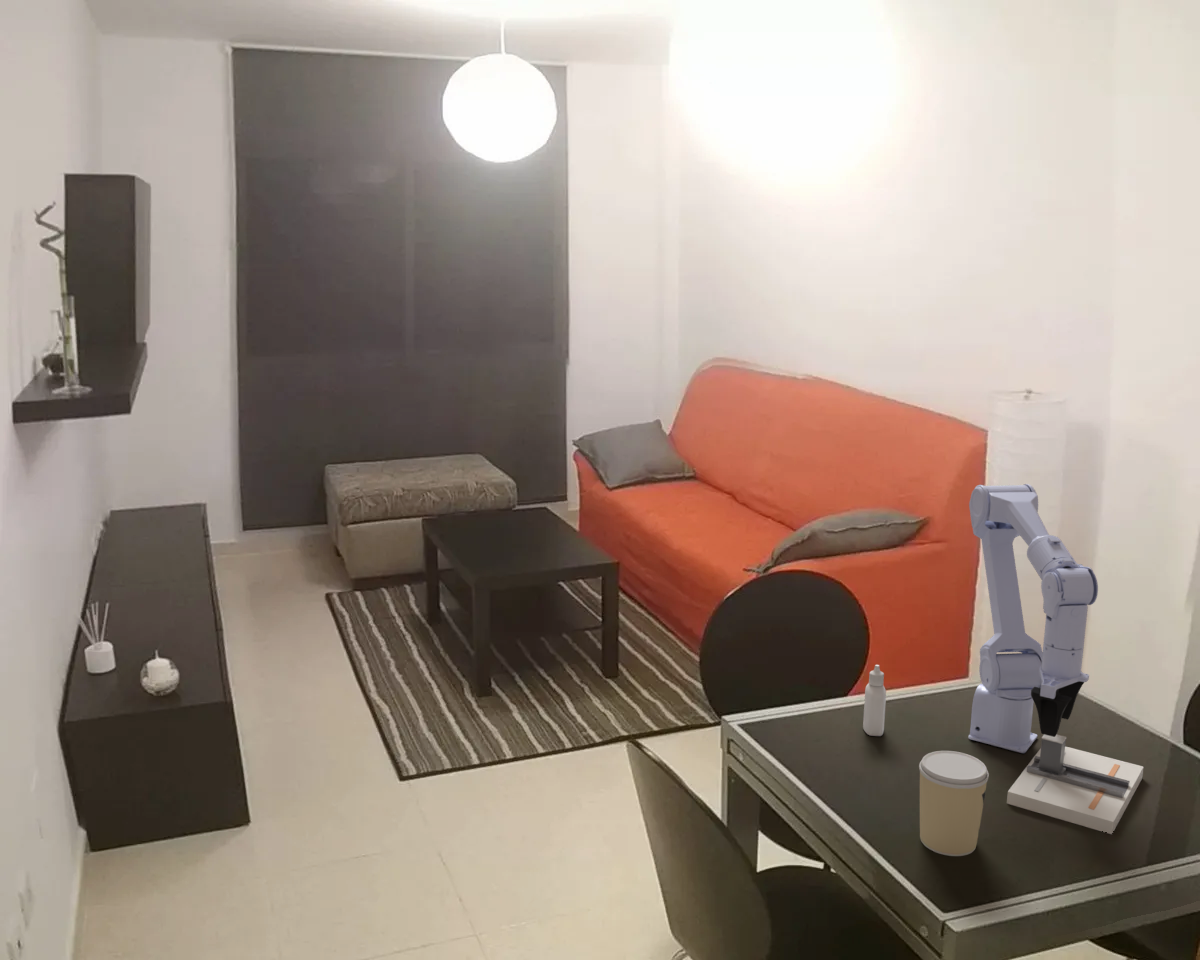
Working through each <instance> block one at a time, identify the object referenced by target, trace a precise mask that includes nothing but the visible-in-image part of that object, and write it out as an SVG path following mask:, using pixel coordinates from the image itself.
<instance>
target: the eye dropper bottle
mask: <svg viewBox="0 0 1200 960" xmlns="http://www.w3.org/2000/svg"><path fill="white" fill-rule="evenodd" d="M884 677H885V673H884V672H883V671H881V669H880V664H875V665H874V668H873V670H871V671H869V677H868V683H867V684H866V686H865V690H864V702H863V703H864V704H863V705H864V706H863V708H864V709H863V724H862V729H863V731H864V732H865V733H866V734H867V735H869V736H870V737H871V736H872V737H881V736H883V734H884V730H885V717H886V701H887V700H886V699H887V691H886V688H885V686H884V681H885V679H884Z"/></svg>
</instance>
